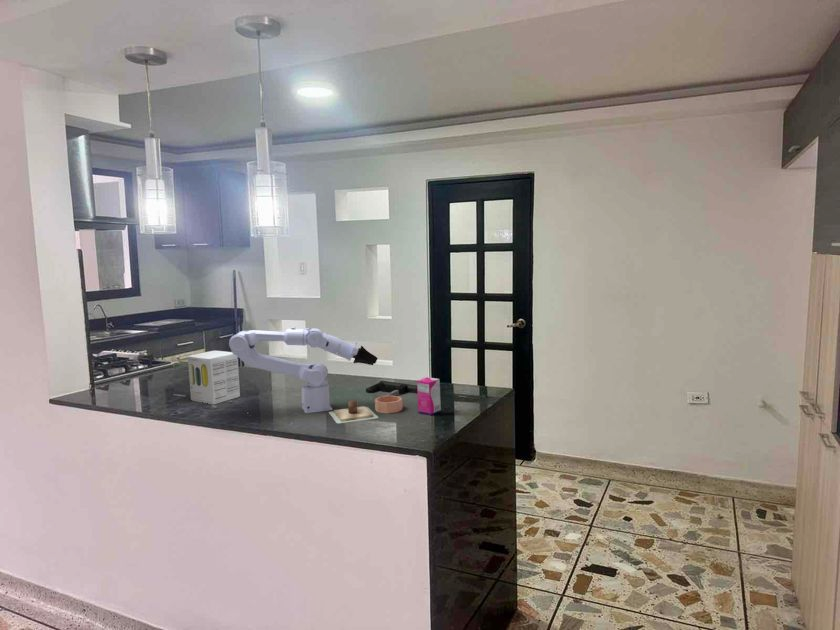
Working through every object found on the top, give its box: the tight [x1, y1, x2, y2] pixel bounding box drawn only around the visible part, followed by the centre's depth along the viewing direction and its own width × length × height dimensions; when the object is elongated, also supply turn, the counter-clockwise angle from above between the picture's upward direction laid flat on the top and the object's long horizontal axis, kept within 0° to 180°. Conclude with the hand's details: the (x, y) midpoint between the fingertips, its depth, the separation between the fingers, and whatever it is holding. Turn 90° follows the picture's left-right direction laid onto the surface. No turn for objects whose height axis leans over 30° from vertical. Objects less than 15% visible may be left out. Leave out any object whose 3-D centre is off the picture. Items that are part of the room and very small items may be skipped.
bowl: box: [374, 395, 404, 414], centre depth 194 cm, size 9×9×4 cm
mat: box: [328, 406, 379, 424], centre depth 188 cm, size 14×14×1 cm
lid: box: [333, 399, 373, 422], centre depth 188 cm, size 11×11×5 cm
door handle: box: [365, 380, 417, 396], centre depth 217 cm, size 3×20×16 cm
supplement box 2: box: [416, 376, 442, 416], centre depth 190 cm, size 6×6×12 cm
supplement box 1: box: [187, 350, 241, 405], centre depth 214 cm, size 13×13×18 cm
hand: (375, 361), depth 197 cm, fingers open, 7 cm apart
